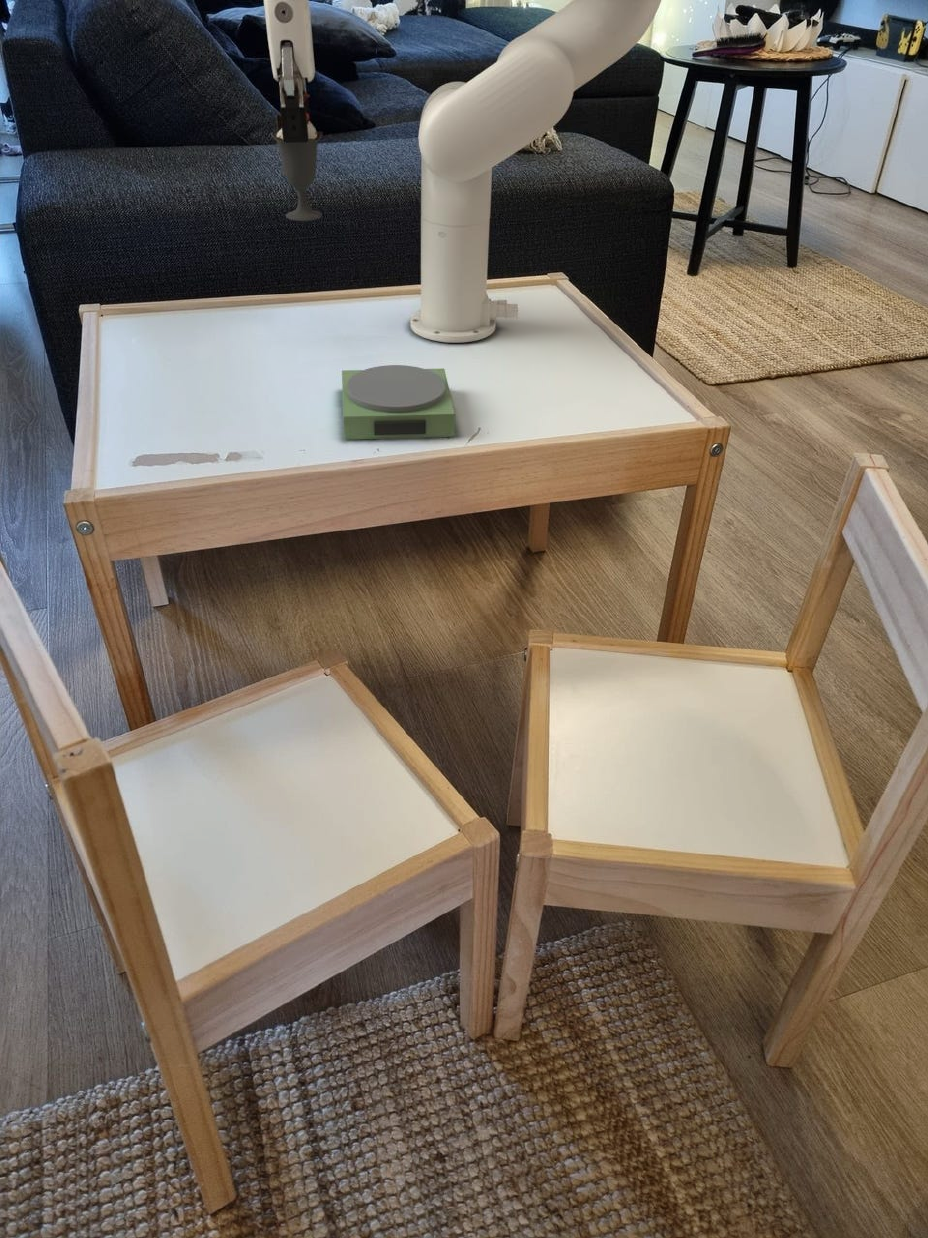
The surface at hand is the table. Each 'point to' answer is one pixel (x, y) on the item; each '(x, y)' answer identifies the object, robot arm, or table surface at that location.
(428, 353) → the table surface
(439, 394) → the scale
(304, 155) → the sundae
